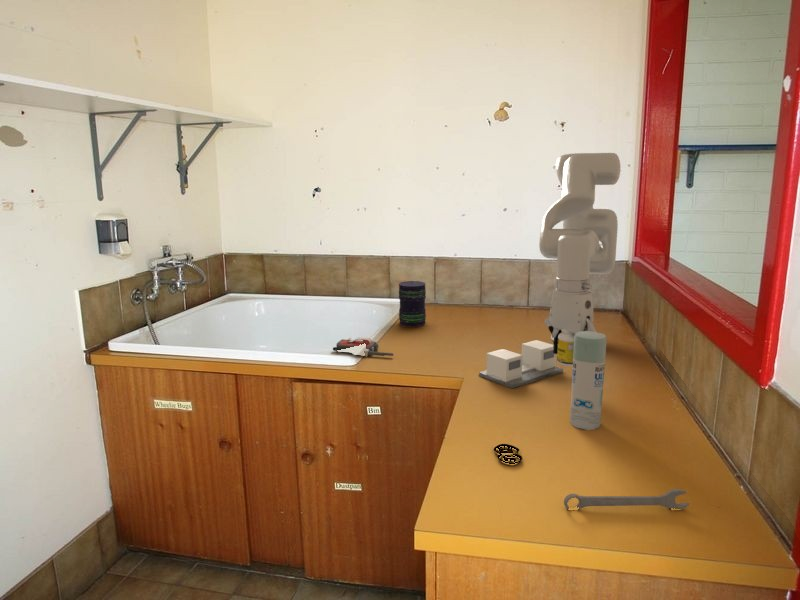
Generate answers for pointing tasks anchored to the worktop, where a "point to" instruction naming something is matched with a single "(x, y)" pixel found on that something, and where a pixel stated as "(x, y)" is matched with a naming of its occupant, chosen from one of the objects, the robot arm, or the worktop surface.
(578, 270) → the robot arm
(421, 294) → the storage jar
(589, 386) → the spray paint can
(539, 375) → the rail plate
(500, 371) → the mounted modules
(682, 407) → the worktop surface
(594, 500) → the combination wrench
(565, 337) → the supplement bottle
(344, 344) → the red white elongated piece
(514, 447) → the corroded twin loop
